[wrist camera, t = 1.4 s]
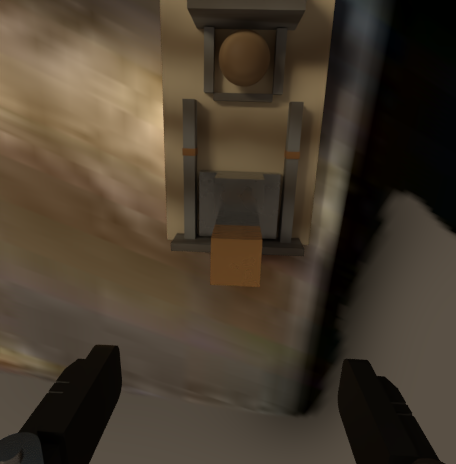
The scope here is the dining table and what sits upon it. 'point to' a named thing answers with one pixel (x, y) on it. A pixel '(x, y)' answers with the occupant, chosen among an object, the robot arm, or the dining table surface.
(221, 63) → the walnut
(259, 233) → the lever
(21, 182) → the dining table surface
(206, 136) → the base
